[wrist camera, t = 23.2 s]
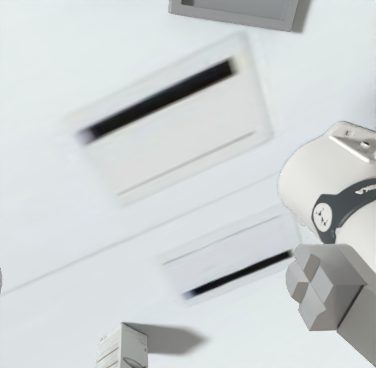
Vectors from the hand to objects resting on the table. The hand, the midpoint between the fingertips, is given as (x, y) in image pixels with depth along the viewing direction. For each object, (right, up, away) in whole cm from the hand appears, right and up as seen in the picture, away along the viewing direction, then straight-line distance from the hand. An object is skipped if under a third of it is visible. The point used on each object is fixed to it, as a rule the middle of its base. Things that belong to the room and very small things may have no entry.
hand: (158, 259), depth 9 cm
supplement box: (-13, -30, +56) cm, 65 cm away
